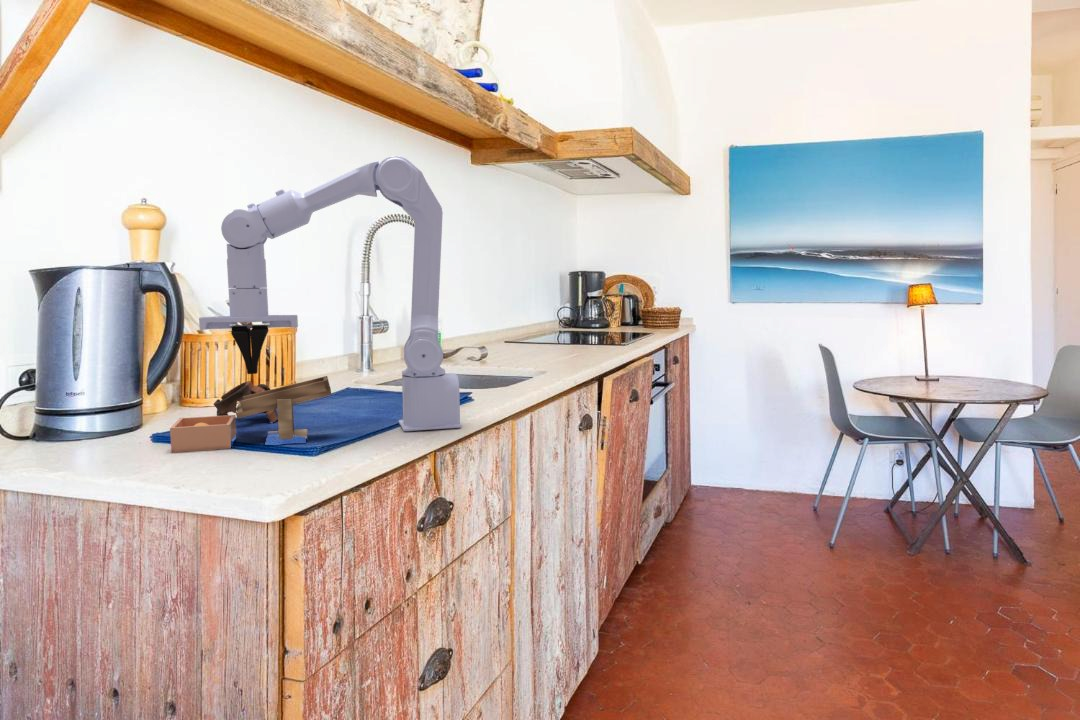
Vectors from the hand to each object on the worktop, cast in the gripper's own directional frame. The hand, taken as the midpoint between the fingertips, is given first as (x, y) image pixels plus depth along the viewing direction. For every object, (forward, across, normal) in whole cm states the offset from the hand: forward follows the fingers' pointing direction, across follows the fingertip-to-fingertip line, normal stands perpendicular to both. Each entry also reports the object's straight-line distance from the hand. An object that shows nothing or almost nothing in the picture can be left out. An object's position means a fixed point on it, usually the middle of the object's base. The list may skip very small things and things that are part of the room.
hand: (252, 373), depth 117 cm
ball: (+8, +7, +6) cm, 12 cm away
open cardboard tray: (+10, +7, +6) cm, 13 cm away
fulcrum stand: (+10, -5, +6) cm, 13 cm away
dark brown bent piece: (+10, +2, -11) cm, 15 cm away
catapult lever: (+4, -5, +3) cm, 7 cm away
